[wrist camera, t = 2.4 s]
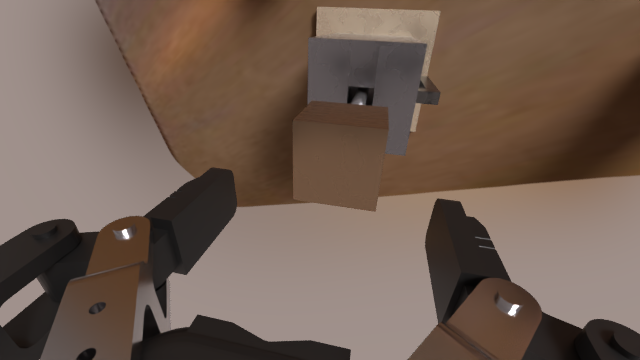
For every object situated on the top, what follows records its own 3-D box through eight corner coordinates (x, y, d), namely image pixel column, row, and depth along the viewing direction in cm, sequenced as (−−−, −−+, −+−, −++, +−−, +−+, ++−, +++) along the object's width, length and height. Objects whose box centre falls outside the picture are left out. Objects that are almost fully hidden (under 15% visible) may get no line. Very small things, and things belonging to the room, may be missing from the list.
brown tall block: (402, 54, 30) (429, 100, 12) (391, 120, 33) (398, 237, 15) (335, 50, 31) (262, 86, 13) (331, 114, 34) (270, 216, 16)
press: (438, 11, 37) (478, 1, 21) (414, 128, 45) (429, 185, 29) (319, 7, 40) (274, -5, 24) (315, 119, 47) (280, 166, 31)
